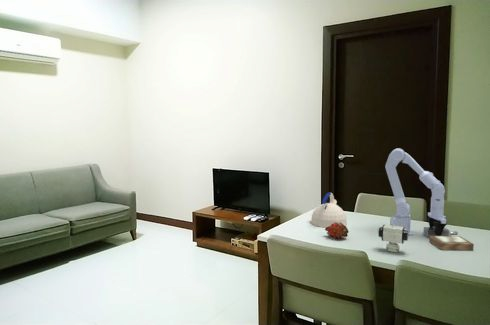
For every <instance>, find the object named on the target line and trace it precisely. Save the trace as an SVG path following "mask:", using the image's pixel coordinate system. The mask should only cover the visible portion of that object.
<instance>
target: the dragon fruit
mask: <svg viewBox="0 0 490 325" xmlns="http://www.w3.org/2000/svg"><path fill="white" fill-rule="evenodd" d="M324 231H326V235H328V236H330V237H332V238H334V239H339V240H343V238H346V237H348V236H349V235H348V234H349V229H348V227H347V225H346V226H344V225H343V224H342V223H340V224H338V223H337V222H334V224H332V225H331V226H328V227H326V228H325V229H324Z"/></svg>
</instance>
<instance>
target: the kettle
mask: <svg viewBox="0 0 490 325" xmlns="http://www.w3.org/2000/svg"><path fill="white" fill-rule="evenodd" d="M328 198H329V202H327V200H328ZM337 203H338V201H337V199H335V196H334V194H333V193H332V192H327V193H326V194H325V195H324V197H323V199H322V200H321V204H320V205H318V206H316V208H315V209H313V210H314V211H312V214H311V221H310V223H311V224H312V225H313V226H315V227H318V228H326V227H328V226H331V225H332V224H334V222H337V223H338V224H340V223H342V224H343V225H344V226H346V227H347V225H348V223H347V222H348V220H347V215H346V213H345V211H344V210H343V208H342V207H340V206H339V205H338V204H337Z"/></svg>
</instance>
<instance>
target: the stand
mask: <svg viewBox="0 0 490 325" xmlns="http://www.w3.org/2000/svg"><path fill="white" fill-rule="evenodd" d="M428 239H429V241H428V242H429V243H430V244H432V245H433V246H435V247H436V248H437V249H439V250H441V251H474V245H475V243H473V242H472V241H470V240H468V239H466V238H464V237H462V236H459V235H450V236H430V238H428Z"/></svg>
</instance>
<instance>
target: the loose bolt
mask: <svg viewBox="0 0 490 325" xmlns="http://www.w3.org/2000/svg"><path fill="white" fill-rule="evenodd" d="M451 234H453V235H458V234H459V232H458V231H456V230H455V231H450V230H449V235H450V236H452V235H451Z"/></svg>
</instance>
